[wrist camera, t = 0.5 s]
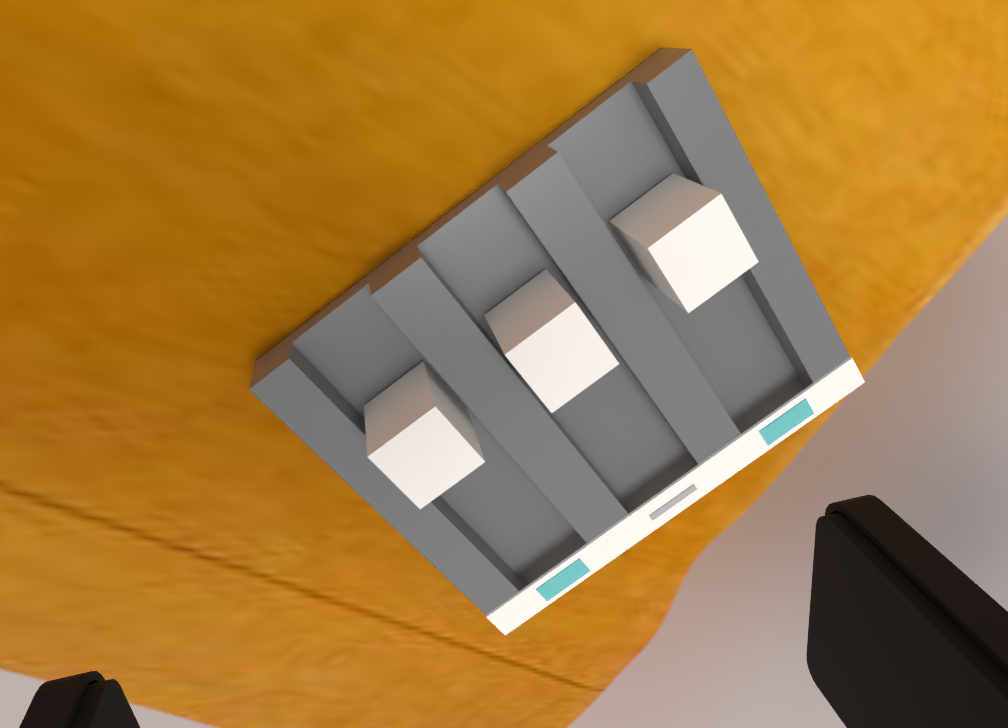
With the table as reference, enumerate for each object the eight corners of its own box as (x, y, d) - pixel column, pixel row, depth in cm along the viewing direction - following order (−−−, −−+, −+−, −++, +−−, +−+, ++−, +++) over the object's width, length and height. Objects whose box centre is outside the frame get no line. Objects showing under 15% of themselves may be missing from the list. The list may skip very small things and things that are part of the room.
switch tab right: (646, 279, 40) (688, 313, 35) (608, 221, 38) (647, 248, 33) (708, 234, 39) (758, 261, 35) (672, 173, 38) (721, 193, 33)
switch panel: (495, 595, 49) (507, 638, 45) (255, 360, 39) (248, 392, 36) (828, 359, 46) (867, 385, 43) (661, 47, 37) (695, 49, 33)
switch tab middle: (526, 368, 40) (551, 413, 36) (484, 315, 39) (504, 354, 34) (586, 324, 40) (619, 363, 35) (545, 268, 38) (575, 302, 34)
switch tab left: (410, 454, 41) (420, 509, 36) (363, 405, 39) (367, 457, 35) (468, 411, 41) (485, 461, 36) (423, 360, 39) (435, 406, 34)
